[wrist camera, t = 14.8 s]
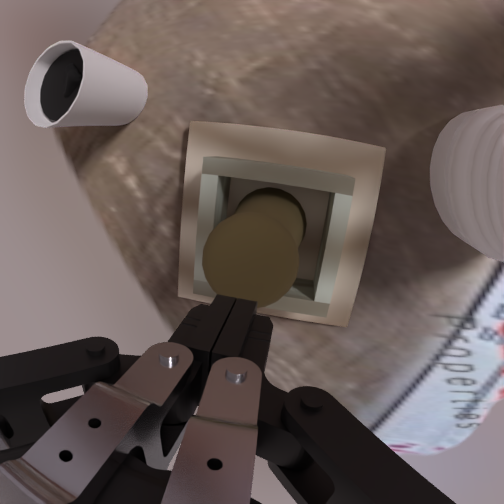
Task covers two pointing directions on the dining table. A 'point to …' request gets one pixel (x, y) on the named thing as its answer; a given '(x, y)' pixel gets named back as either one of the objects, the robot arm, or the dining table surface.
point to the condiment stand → (303, 189)
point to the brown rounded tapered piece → (256, 247)
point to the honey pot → (472, 179)
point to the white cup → (82, 89)
